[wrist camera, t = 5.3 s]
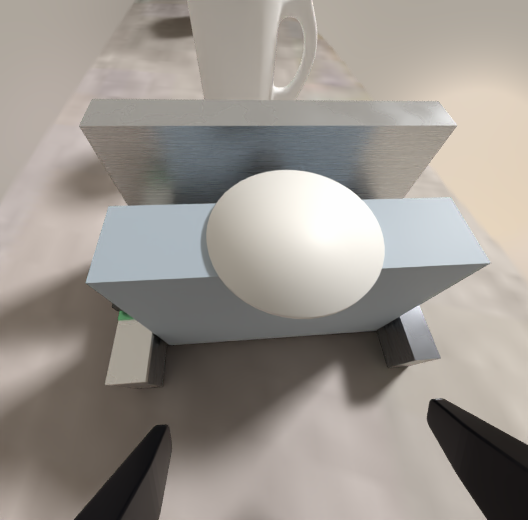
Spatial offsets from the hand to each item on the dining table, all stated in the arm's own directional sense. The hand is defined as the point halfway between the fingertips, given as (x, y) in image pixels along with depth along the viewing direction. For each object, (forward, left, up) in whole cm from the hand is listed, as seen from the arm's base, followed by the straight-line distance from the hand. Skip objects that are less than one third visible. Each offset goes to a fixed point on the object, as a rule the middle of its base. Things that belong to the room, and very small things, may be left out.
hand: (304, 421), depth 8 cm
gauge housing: (+8, 0, -6) cm, 10 cm away
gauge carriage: (+6, +1, -6) cm, 8 cm away
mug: (+26, 0, -7) cm, 27 cm away
